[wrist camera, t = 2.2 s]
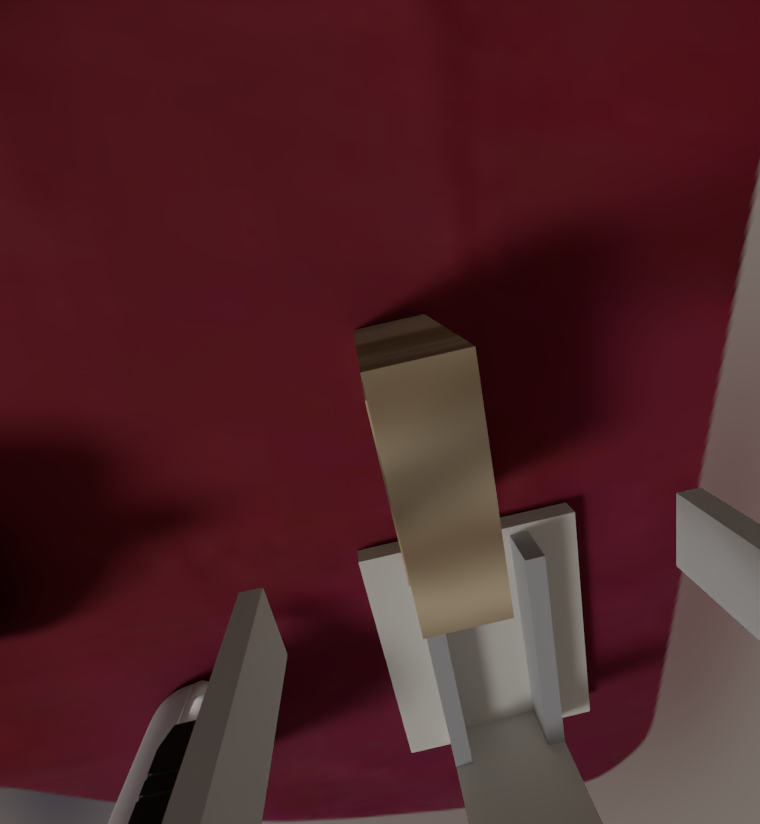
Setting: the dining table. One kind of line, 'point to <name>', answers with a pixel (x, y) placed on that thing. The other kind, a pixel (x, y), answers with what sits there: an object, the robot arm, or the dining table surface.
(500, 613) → the door panel
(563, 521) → the white stand
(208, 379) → the dining table surface
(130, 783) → the mug
